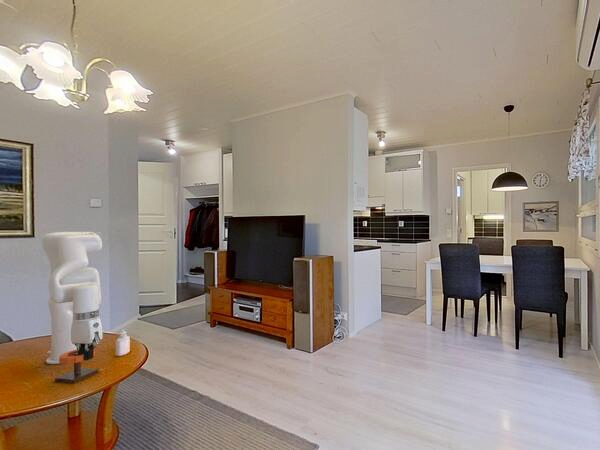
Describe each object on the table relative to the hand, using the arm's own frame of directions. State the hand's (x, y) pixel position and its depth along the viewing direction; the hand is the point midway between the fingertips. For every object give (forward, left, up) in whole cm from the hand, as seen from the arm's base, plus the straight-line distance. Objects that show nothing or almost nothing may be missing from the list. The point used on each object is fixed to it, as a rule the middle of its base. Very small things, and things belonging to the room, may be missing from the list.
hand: (85, 358), depth 127 cm
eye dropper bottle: (-8, +22, -8) cm, 25 cm away
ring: (-4, 0, 0) cm, 4 cm away
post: (-4, 0, -8) cm, 9 cm away
